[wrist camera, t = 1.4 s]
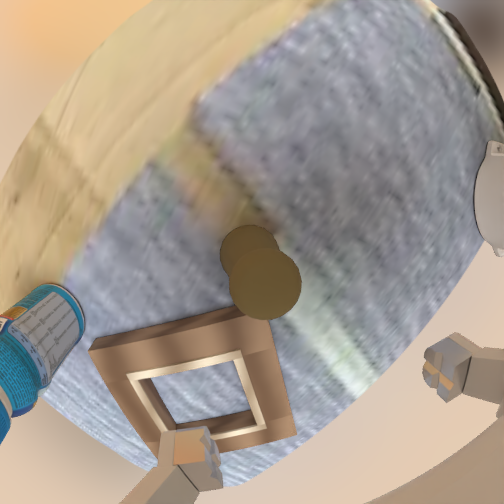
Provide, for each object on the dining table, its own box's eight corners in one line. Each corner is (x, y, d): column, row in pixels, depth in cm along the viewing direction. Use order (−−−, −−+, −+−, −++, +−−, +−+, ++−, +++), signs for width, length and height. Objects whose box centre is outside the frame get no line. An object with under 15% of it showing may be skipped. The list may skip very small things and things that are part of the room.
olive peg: (261, 291, 31) (286, 344, 20) (209, 268, 30) (208, 313, 19) (288, 240, 30) (328, 271, 20) (236, 214, 29) (250, 232, 18)
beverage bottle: (96, 305, 29) (4, 428, 10) (77, 356, 30) (8, 473, 11) (40, 267, 27) (-79, 347, 8) (26, 321, 28) (-64, 411, 9)
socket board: (260, 298, 31) (266, 311, 28) (292, 420, 36) (297, 436, 33) (96, 338, 30) (86, 352, 27) (160, 446, 35) (158, 462, 32)
